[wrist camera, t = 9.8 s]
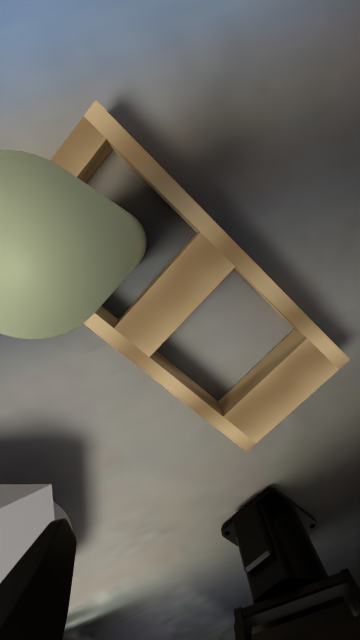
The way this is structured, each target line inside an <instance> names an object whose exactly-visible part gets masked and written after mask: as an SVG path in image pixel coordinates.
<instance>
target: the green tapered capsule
mask: <svg viewBox="0 0 360 640" xmlns="http://www.w3.org/2000/svg"><path fill="white" fill-rule="evenodd" d="M146 247H147V238H146V234H145V231H144V228H143V226H142V225H141V223H140V222H139V221H138V220H137V219H136V218H135V217H134V216H133V215H131V214H130V213H129V212H127V211H126V210H124V209H123V208H121V207H120V206H118V205H117V204H115V203H114V202H112V201H111V200H109V199H108V198H106V197H105V196H103V195H102V194H101V193H99V192H98V191H96V190H95V189H93V188H92V187H90V186H89V185H87V184H86V183H84V182H83V181H81V180H80V179H78V178H77V177H76V176H74V175H73V174H71V173H70V172H68V171H67V170H65V169H64V168H62V167H61V166H59V165H57V164H55V163H53V162H52V161H50V160H48V159H45V158H42V157H40V156H37V155H34V154H30V153H26V152H22V151H12V150H0V334H4V335H7V336H11V337H16V338H22V339H44V338H50V337H55V336H58V335H61V334H64V333H67V332H69V331H71V330H73V329H75V328H77V327H78V326H80V325H81V324H83V323H84V322H86V321H87V320H88V319H89V318H90V317H91V316H92V315H93V314H94V313H95V312H96V311H97V310H98V309H99V307H100V306H101V305H102V304H103V303H104V302H105V301H106V300H107V299H108V297H109V296H110V295H111V294H112V293H113V292H114V291H115V290H116V289H117V287H118V286H119V285H120V284H121V283H122V282H123V281H124V280H125V278H126V277H127V276H128V275H129V274H130V273H131V272H132V271H133V270H134V268H135V267H136V266H137V265H138V264H139V263H140V262H141V260H142V259H143V257H144V255H145V252H146Z"/></svg>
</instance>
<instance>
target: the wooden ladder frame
mask: <svg viewBox="0 0 360 640" xmlns="http://www.w3.org/2000/svg"><path fill="white" fill-rule="evenodd" d="M112 150H114V151H115V152H116V153H117V154H118V155H119V156H120V157H121V158H122V159H123V160H124V161H125V162H126V163H127V164H128V165H129V166H130V167H131V168H132V169H133V170H134V171H135V172H136V173H137V174H138V175H139V176H140V177H141V178H142V179H143V180H144V181H145V182H146V183H147V184H148V185H149V186H150V187H151V188H152V189H153V190H154V191H155V192H156V193H157V194H158V195H159V196H160V197H161V198H162V199H163V200H164V201H165V202H166V203H167V204H168V205H169V206H170V207H171V208H172V209H173V210H174V211H175V212H176V213H177V214H178V215H179V216H180V217H181V218H182V219H183V220H184V221H185V222H187V223H188V224H189V225H190V226H191V227H192V228H193V229H194V230H195V231H196V232H197V233H196V234H195V235H194V236H193V237H192V238H191V239H190V240H189V241H188V243H187V244H186V245H185V246H184V247H183V248H182V249H181V250H180V251H179V253H178V254H177V255H176V256H175V257H174V258H173V259H172V260H171V262H170V263H169V264H168V265H167V266H166V267H165V268H164V269H163V270H162V272H161V273H160V274H159V275H158V276H157V277H156V278H155V279H154V280H153V282H152V283H151V284H150V285H149V286H148V287H147V288H146V289H145V290H144V292H143V293H142V294H141V295H140V296H139V297H138V298H137V299H136V301H135V302H134V303H133V304H132V305H131V306H130V307H129V308H128V309H127V311H126V312H125V313H124V314H123V315H122V316H121V317H120V318H119V319H117V318H116V317H115V316H113V315H112V314H111V313H110V312H108V311H107V310H106V309H105V308H104V307H102V306H100V307H99V309H98V310H97V311H96V312H95V313H94V314H93V315H92V316H91V317H90V318H89V319H88V320H87V321H86V322H84V324H85V325H86V326H87V327H89V328H90V329H91V330H92V331H94V332H95V333H96V334H97V335H99V336H100V337H101V338H103V339H104V340H105V341H106V342H108V343H109V344H110V345H111V346H113V347H114V348H115V349H117V350H118V351H119V352H120V353H122V354H123V355H124V356H125V357H127V358H128V359H129V360H131V361H132V362H133V363H134V364H136V365H137V366H138V367H139V368H141V369H142V370H143V371H144V372H146V373H147V374H148V375H150V376H151V377H152V378H153V379H155V380H156V381H157V382H158V383H160V384H161V385H162V386H164V387H165V388H166V389H167V390H169V391H170V392H171V393H172V394H174V395H175V396H176V397H177V398H179V399H180V400H181V401H183V402H184V403H185V404H186V405H188V406H189V407H190V408H191V409H193V410H194V411H195V412H197V413H198V414H199V415H200V416H202V417H203V418H204V419H205V420H207V421H208V422H209V423H210V424H212V425H213V426H214V427H216V428H217V429H218V430H219V431H221V432H222V433H223V434H224V435H226V436H227V437H228V438H230V439H231V440H232V441H233V442H235V443H236V444H237V445H238V446H240V447H241V448H242V449H244V450H245V451H246V452H247V451H248V450H249V449H250V448H251V447H252V446H254V445H255V444H256V443H257V442H258V441H259V440H260V439H261V438H263V437H264V436H265V435H266V434H267V433H268V432H269V431H270V430H271V429H273V428H274V427H275V426H276V425H277V424H278V423H279V422H280V421H282V420H283V419H284V418H285V417H286V416H287V415H288V414H289V413H291V412H292V411H293V410H294V409H295V408H296V407H297V406H298V405H300V404H301V403H302V402H303V401H304V400H305V399H306V398H307V397H309V396H310V395H311V394H312V393H313V392H314V391H315V390H316V389H318V388H319V387H320V386H321V385H322V384H323V383H324V382H325V381H327V380H328V379H329V378H330V377H331V376H332V375H333V374H334V373H336V372H337V371H338V370H339V369H340V368H341V367H342V366H343V365H345V364H346V363H347V362H348V361H349V360H350V359H349V358H348V357H347V356H346V355H345V354H344V353H343V352H342V351H341V350H340V349H339V348H338V347H337V346H336V345H335V344H334V343H333V342H332V341H331V340H330V339H329V338H328V337H327V336H326V335H325V334H324V333H323V331H322V330H321V329H320V328H319V327H318V326H317V325H316V324H315V323H314V322H313V321H312V320H311V319H310V318H309V317H308V316H307V315H306V314H305V313H304V312H303V311H302V310H301V309H300V308H299V307H298V306H297V305H296V304H295V303H294V302H293V301H292V300H291V299H290V298H289V297H288V296H287V295H286V294H285V293H284V292H283V291H282V290H281V289H280V288H279V287H278V286H277V285H276V283H275V282H274V281H273V280H272V279H271V278H270V277H269V276H268V275H267V274H266V273H265V272H264V271H263V270H262V269H261V268H260V267H259V266H258V265H257V264H256V263H255V262H254V261H253V260H252V259H251V258H250V257H249V256H248V255H247V254H246V253H245V252H244V251H243V250H242V249H241V248H240V247H239V246H238V245H237V244H236V243H235V242H234V241H233V240H232V239H231V238H230V237H229V235H228V234H227V233H226V232H225V231H224V230H223V229H222V228H221V227H220V226H219V225H218V224H217V223H216V222H215V221H214V220H213V219H212V218H211V217H210V216H209V215H208V214H207V213H206V212H205V211H204V210H203V209H202V208H201V207H200V206H199V205H198V204H197V203H196V202H195V201H194V200H193V199H192V198H191V197H190V196H189V195H188V194H187V193H186V192H185V191H184V190H183V189H182V187H181V186H180V185H179V184H178V183H177V182H176V181H175V180H174V179H173V178H172V177H171V176H170V175H169V174H168V173H167V172H166V171H165V170H164V169H163V168H162V167H161V166H160V165H159V164H158V163H157V162H156V161H155V160H154V159H153V158H152V157H151V156H150V155H149V154H148V153H147V152H146V151H145V150H144V149H143V148H142V147H141V146H140V145H139V144H138V143H137V142H136V141H135V139H134V138H133V137H132V136H131V135H130V134H129V133H128V132H127V131H126V130H125V129H124V128H123V127H122V126H121V125H120V124H119V123H118V122H117V121H116V120H115V119H114V118H113V117H112V116H111V115H110V114H109V113H108V112H107V111H106V110H105V109H104V108H103V107H102V106H101V105H100V104H99V103H98V102H97V101H96V100H95V102H94V103H93V104H92V106H91V107H90V108H89V110H88V111H87V112H86V114H85V115H84V116H83V118H82V119H81V120H80V122H79V123H78V124H77V126H76V127H75V129H74V130H73V131H72V133H71V134H70V135H69V137H68V138H67V139H66V141H65V142H64V143H63V145H62V146H61V147H60V149H59V150H58V151H57V153H56V154H55V155H54V157H53V158H52V159H51V161H52V162H53V163H55V164H57V165H59V166H61V167H62V168H64V169H65V170H67V171H68V172H70V173H71V174H73V175H74V176H76V177H77V178H78V179H80V180H81V181H83V182H84V183H87V182H88V181H89V179H90V178H91V177H92V175H93V174H94V173H95V172H96V170H97V169H98V168H99V167H100V165H101V164H102V163H103V161H104V160H105V159H106V158H107V156H108V155H109V154H110V152H111V151H112ZM233 269H234V270H235V271H236V272H237V273H238V274H239V275H240V276H241V277H242V278H243V279H244V280H245V281H246V282H247V283H248V284H249V285H250V286H251V287H252V288H253V289H254V290H255V291H256V292H257V293H258V294H259V295H260V296H261V297H262V298H263V299H264V300H265V301H266V302H267V303H268V304H269V305H270V306H272V307H273V308H274V309H275V310H276V311H277V312H278V313H279V314H280V315H281V316H282V317H283V318H284V319H285V320H286V321H287V322H288V323H289V324H290V325H291V326H292V327H293V328H294V330H293V331H291V332H290V333H289V334H288V335H287V336H286V337H285V338H284V339H283V340H282V341H281V342H280V343H279V344H278V345H277V346H276V347H275V348H274V349H273V350H272V351H270V352H269V353H268V354H267V355H266V356H265V357H264V358H263V359H262V360H261V361H260V362H259V363H258V364H257V365H256V366H255V367H254V368H253V369H252V370H251V371H250V372H248V373H247V374H246V375H245V376H244V377H243V378H242V379H241V380H240V381H239V382H238V383H237V384H236V385H235V386H234V387H233V388H232V389H231V390H230V391H229V392H227V393H226V394H225V395H224V396H223V397H222V398H221V399H220V400H219V401H217V400H216V399H215V398H213V397H212V396H211V395H210V394H208V393H207V392H206V391H205V390H204V389H202V388H201V387H200V386H199V385H197V384H196V383H195V382H194V381H193V380H191V379H190V378H189V377H188V376H187V375H185V374H184V373H183V372H182V371H180V370H179V369H178V368H177V367H176V366H174V365H173V364H172V363H171V362H169V361H168V360H167V359H166V358H165V357H163V356H162V355H161V354H160V353H158V352H157V351H156V350H157V349H158V348H159V346H160V345H161V344H162V343H163V342H164V341H165V340H166V339H167V338H168V337H169V336H170V335H171V334H172V333H173V332H174V331H175V330H176V329H177V328H178V326H179V325H180V324H181V323H182V322H183V321H184V320H185V319H186V318H187V317H188V316H189V315H190V314H191V313H192V312H193V311H194V310H195V309H196V308H197V307H198V305H199V304H200V303H201V302H202V301H203V300H204V299H205V298H206V297H207V296H208V295H209V294H210V293H211V292H212V291H213V290H214V289H215V288H216V287H217V286H218V284H219V283H220V282H221V281H222V280H223V279H224V278H225V277H226V276H227V275H228V274H229V273H230V272H231V271H232V270H233Z"/></svg>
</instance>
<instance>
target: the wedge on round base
mask: <svg viewBox="0 0 360 640" xmlns="http://www.w3.org/2000/svg"><path fill="white" fill-rule="evenodd" d="M61 518H65V519H67V520H68V522H69V524H70V526H71V528H72V525H71V522H70V519H69V517H68V516H67V514H66V513H65V511H64V510H63V509H62V508H61V507H60V506H59V505H58V504H56V503H55V502H54V501H53V495H52V484H0V583H1V582H2V580H3V579H4V578H5V577H6V575H7V574H8V573H9V572H10V571H11V569H12V568H13V567H14V566H15V564H16V563H17V562H18V561H19V560H20V558H21V557H22V556H23V555H24V553H25V552H26V551H27V550H28V549H29V547H30V546H31V545H32V544H33V542H34V541H35V540H36V539H37V538H38V536H39V535H40V534H41V533H42V532H43V530H44V529H45V528H46V527H47V525H48V524H49V523H50V522H51V521H53V520H57V519H61Z"/></svg>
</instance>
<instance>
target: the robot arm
mask: <svg viewBox="0 0 360 640" xmlns="http://www.w3.org/2000/svg"><path fill="white" fill-rule="evenodd" d="M317 527H318V524H317V522H316V520H315V519H314V518H313V517H312V516H310V515H309V514H308V513H307V512H305V511H304V510H303V509H301V508H300V507H299V506H298V505H296V504H295V503H294V502H292V501H291V500H290V499H288V498H287V497H286V496H285V495H283V494H282V493H281V492H279V491H278V490H277V489H275V488H274V487H270V488H267V489H266V490H265V491H264V492H263V493H261V494H260V495H259V496H258V497H257V498H256V499H254V500H253V501H252V502H251V503H250V504H248V505H247V506H246V507H245V508H244V509H243V510H241V511H240V512H239V513H238V514H237V515H235V516H234V517H233V518H232V519H231V520H230V521H228V522H227V523H226V524H225V525H224V526H222V528H221V532H222V536H223V537H225V538H226V539H228V540H229V541H231V542H232V543H234V544H235V545H237V546H238V547H239V550H240V555H241V559H242V563H243V567H244V570H245V572H246V574H247V578H248V582H249V586H250V590H251V594H252V598H253V602H254V604H251V605H248V606H245V607H241V606H240V607H237V608H235V609H234V615H235V623H234V630H235V639H236V640H360V588H359V587H358V585H357V583H356V582H355V580H354V579H353V577H352V575H351V574H350V572H349V570H348V569H347V568H346V569H343V570H340V573H337V574H335V575H332V576H329V577H328V575H327V573H326V571H325V569H324V567H323V564H322V562H321V560H320V558H319V556H318V554H317V552H316V550H315V548H314V546H313V544H312V542H311V540H310V538H309V536H308V534H310V533H311V532H312V531H314V530H315V529H316V528H317ZM75 553H76V537H75V535H74V533H73V530H72V528H71V526H70V524H69V522H68V520H67V519H65V518H61V519H57V520H53V521H51V522H50V523H49V524H48V525H47V527H46V528H45V529H44V530H43V532H42V533H41V534H40V535H39V536H38V538H37V539H36V540H35V541H34V542H33V544H32V545H31V546H30V547H29V549H28V550H27V551H26V552H25V553H24V555H23V556H22V557H21V558H20V560H19V561H18V562H17V563H16V564H15V566H14V567H13V568H12V569H11V571H10V572H9V573H8V574H7V575H6V577H5V578H4V579H3V580H2V582H1V583H0V640H62V638H63V633H64V629H65V624H66V619H67V613H68V607H69V600H70V593H71V585H72V577H73V569H74V561H75Z"/></svg>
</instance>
